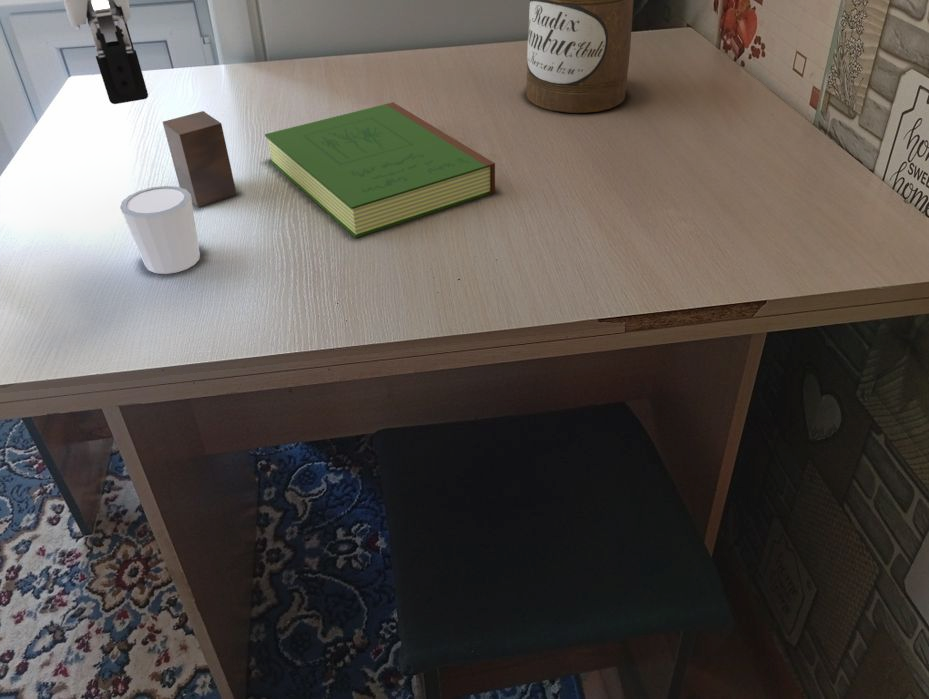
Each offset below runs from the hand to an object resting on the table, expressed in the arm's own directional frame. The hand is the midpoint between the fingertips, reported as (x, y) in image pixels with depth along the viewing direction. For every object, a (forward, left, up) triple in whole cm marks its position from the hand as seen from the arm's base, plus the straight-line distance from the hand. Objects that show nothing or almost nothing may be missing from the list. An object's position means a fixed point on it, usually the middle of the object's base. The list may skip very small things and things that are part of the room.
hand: (125, 83), depth 72 cm
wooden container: (+62, +23, -19) cm, 69 cm away
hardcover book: (+26, +10, -19) cm, 33 cm away
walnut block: (+6, +14, -19) cm, 24 cm away
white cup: (0, 0, -19) cm, 19 cm away
